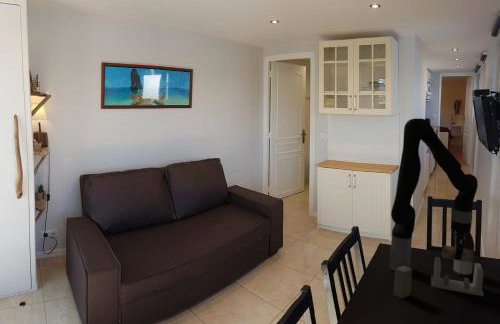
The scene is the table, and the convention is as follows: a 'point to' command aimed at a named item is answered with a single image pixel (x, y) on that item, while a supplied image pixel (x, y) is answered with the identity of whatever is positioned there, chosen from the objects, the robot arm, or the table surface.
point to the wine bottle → (461, 266)
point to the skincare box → (402, 281)
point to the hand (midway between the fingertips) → (457, 256)
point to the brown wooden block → (466, 255)
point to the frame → (458, 285)
